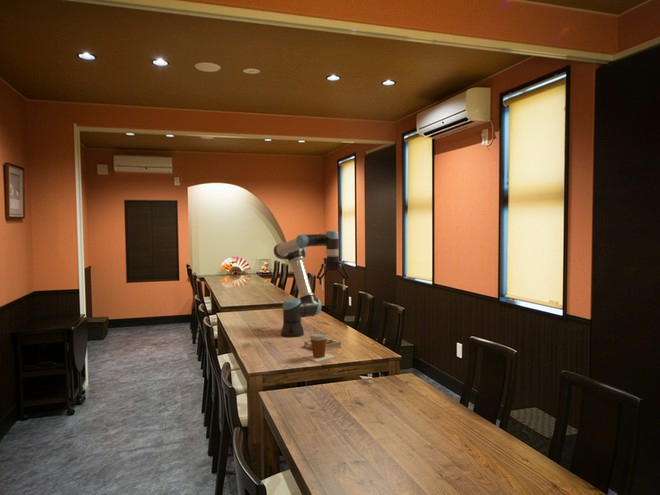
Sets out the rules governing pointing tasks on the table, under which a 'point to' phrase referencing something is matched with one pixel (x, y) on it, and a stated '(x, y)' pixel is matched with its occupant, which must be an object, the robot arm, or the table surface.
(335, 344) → the square wooden tray
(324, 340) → the disposable coffee cup
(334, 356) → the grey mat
